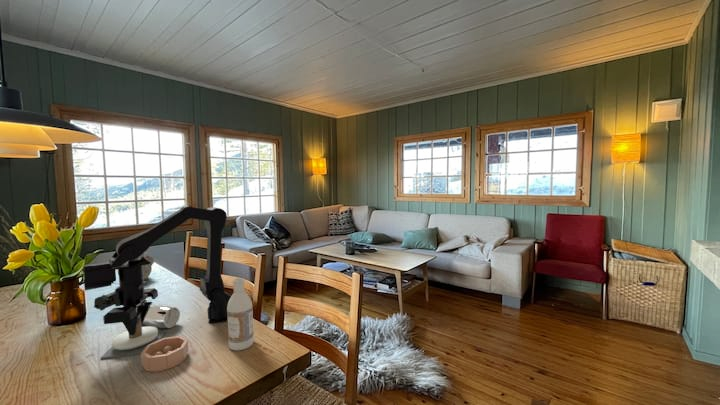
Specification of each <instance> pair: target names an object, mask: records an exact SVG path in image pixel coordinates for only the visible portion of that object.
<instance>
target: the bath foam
mask: <svg viewBox="0 0 720 405" xmlns="http://www.w3.org/2000/svg"><path fill="white" fill-rule="evenodd" d="M232 286H233V293H232V295H230V296H231V298H230V300H229V302H228V306H227V319H228V321H227V336H228V347H229V349H230V350H232V351H237V352H238V351H242V350H246V349H248V348H250V347H252V346H253V344H254V341H255V339H254V337H255V336H254V314H253V302H252V298H251V297H250V295H249V294H248V293H247V292H246V291H245V279H244V278H242V277H239V278H234V279H233V285H232Z"/></svg>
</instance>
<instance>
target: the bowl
mask: <svg viewBox="0 0 720 405" xmlns="http://www.w3.org/2000/svg"><path fill="white" fill-rule="evenodd" d="M188 353H189V339H187V338H186V337H183V336H181V335H178V336H169V337H162V338H161V339H160V340H158V341H156V342H153V343H151V344H149V345H147V347H146V348H145V349H144V350H143V351H142V352H141V354H140V359H141V360H140V361H141V366H142V367H143V369H144V370H145V371H146V372H147V373H149V372H150V373H158V372H164V371H168V370H170V369H172V368H174V367H177V366H178V365H180V364H181V363H183V362H184V361H185V360H186V359H187V357H188Z"/></svg>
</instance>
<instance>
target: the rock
mask: <svg viewBox="0 0 720 405" xmlns="http://www.w3.org/2000/svg"><path fill="white" fill-rule="evenodd" d="M141 256H144V258H145V259H147V260H149V261H150V264H147V265H143V279H144V281H146V280H147V279H148V278H149V277H150V276H151V273H152V266H153V264H154V263H155V258H154V256H150V254H149V253H148V252H146V251H145V252H144V253H143V254H142V255H141ZM141 256H140V257H141ZM140 257H138V258H137V259H139V258H140ZM137 259H135V260H137ZM130 261H131V260H130ZM125 264H127V262H126V263H125ZM117 275H118V276H119V273H118V272H117Z"/></svg>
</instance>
